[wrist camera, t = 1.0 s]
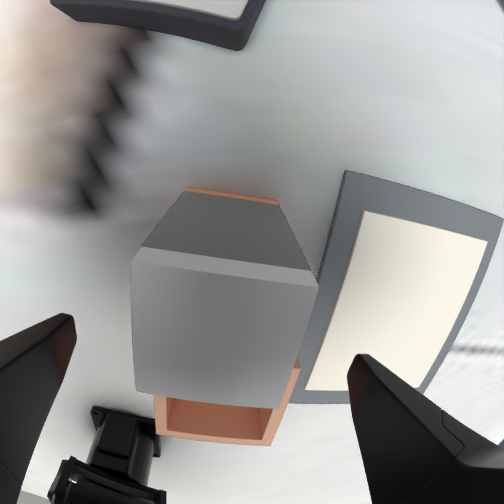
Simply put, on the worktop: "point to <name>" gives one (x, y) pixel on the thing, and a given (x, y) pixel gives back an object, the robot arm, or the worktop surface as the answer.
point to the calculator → (174, 17)
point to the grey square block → (220, 301)
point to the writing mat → (392, 285)
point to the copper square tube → (221, 419)
